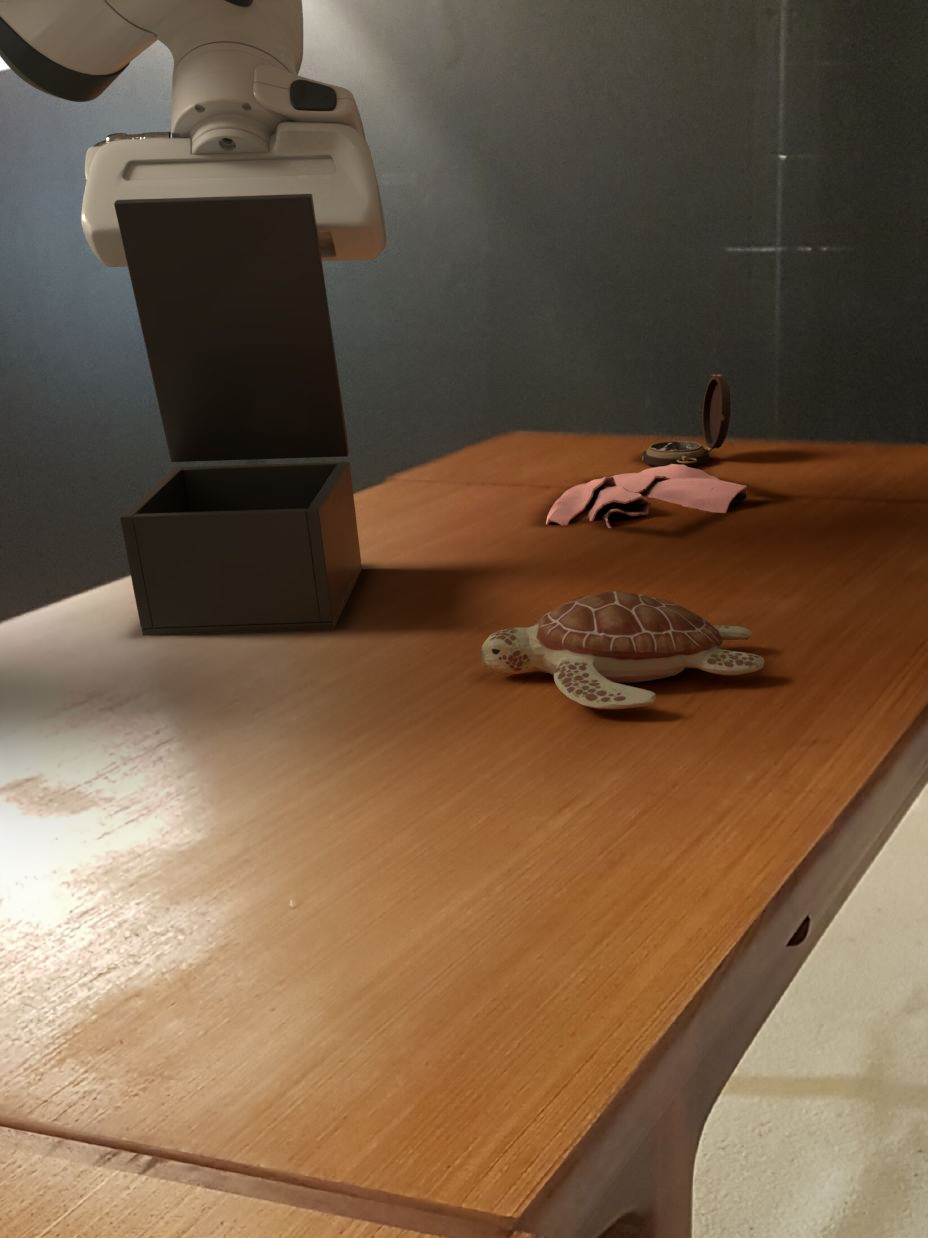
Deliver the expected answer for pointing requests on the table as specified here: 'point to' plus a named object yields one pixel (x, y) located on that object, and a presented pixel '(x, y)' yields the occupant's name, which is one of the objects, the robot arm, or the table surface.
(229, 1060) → the table surface
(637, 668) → the decorative turtle
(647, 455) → the compass
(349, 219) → the robot arm
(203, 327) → the box lid
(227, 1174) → the table surface
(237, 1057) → the table surface
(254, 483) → the box
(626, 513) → the cloth
